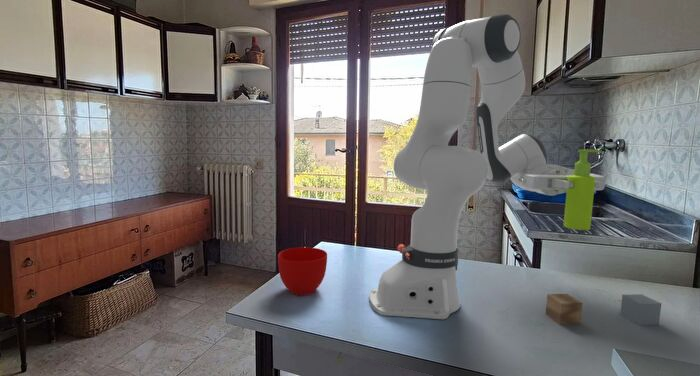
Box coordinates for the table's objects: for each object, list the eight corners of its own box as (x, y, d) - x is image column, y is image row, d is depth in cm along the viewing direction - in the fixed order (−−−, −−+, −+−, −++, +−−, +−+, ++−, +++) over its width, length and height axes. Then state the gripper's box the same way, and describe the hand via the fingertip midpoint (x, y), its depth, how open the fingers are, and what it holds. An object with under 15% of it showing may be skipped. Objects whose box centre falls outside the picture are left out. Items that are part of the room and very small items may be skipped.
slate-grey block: (638, 325, 82) (640, 303, 81) (620, 314, 86) (622, 294, 86) (658, 324, 82) (661, 303, 81) (639, 314, 87) (641, 294, 86)
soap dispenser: (595, 231, 89) (604, 149, 86) (562, 227, 93) (570, 148, 90) (594, 227, 94) (602, 149, 91) (563, 223, 98) (570, 148, 95)
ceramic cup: (337, 279, 105) (338, 245, 104) (316, 303, 89) (316, 264, 88) (296, 274, 109) (296, 241, 108) (268, 296, 93) (268, 258, 91)
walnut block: (559, 324, 81) (561, 303, 80) (545, 314, 86) (547, 294, 85) (580, 324, 81) (582, 302, 81) (565, 313, 86) (567, 293, 86)
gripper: (515, 168, 103) (545, 172, 90) (583, 169, 105) (623, 173, 91) (514, 190, 104) (543, 197, 90) (581, 190, 106) (620, 198, 92)
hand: (584, 185), depth 91 cm, fingers closed on soap dispenser, 6 cm apart
